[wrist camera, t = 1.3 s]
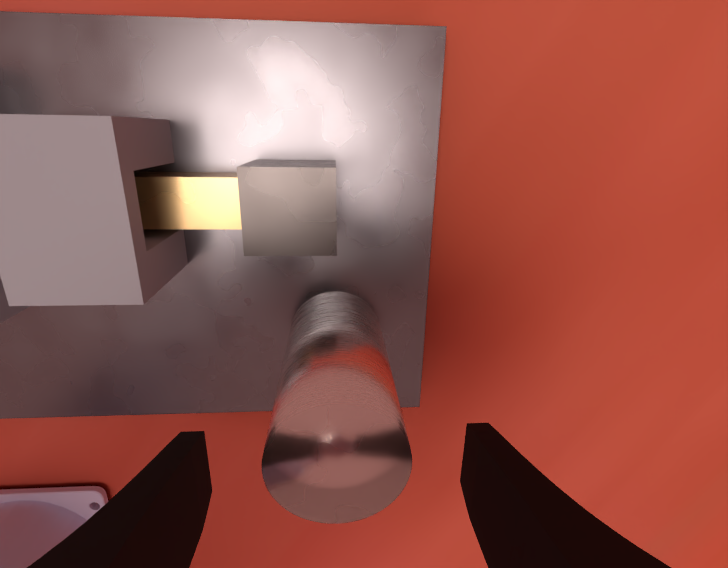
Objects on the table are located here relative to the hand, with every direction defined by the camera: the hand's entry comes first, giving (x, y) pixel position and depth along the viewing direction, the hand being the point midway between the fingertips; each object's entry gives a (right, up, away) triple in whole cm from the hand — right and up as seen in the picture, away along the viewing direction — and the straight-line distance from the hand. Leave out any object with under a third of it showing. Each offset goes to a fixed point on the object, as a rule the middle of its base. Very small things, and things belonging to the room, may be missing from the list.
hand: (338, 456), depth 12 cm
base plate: (-9, +7, +6) cm, 13 cm away
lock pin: (-6, +8, +5) cm, 11 cm away
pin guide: (-8, +8, +5) cm, 13 cm away
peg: (0, +3, +7) cm, 8 cm away
